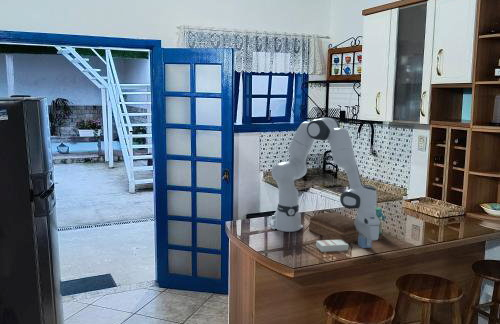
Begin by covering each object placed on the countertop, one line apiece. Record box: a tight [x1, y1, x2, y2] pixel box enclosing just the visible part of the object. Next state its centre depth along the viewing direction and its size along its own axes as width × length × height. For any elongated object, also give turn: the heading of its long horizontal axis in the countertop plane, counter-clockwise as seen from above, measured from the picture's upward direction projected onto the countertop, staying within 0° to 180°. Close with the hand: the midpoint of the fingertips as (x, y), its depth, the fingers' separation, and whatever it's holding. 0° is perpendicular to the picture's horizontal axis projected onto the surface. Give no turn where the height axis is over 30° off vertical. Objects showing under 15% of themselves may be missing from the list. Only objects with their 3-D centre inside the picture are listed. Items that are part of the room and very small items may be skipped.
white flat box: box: [315, 239, 349, 253], centre depth 225 cm, size 8×14×3 cm, turn 103°
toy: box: [375, 206, 386, 235], centre depth 249 cm, size 10×10×15 cm
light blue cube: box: [357, 235, 373, 249], centre depth 229 cm, size 5×5×5 cm
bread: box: [308, 212, 359, 244], centre depth 247 cm, size 17×29×11 cm, turn 30°
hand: (364, 243), depth 229 cm, fingers closed on light blue cube, 5 cm apart
